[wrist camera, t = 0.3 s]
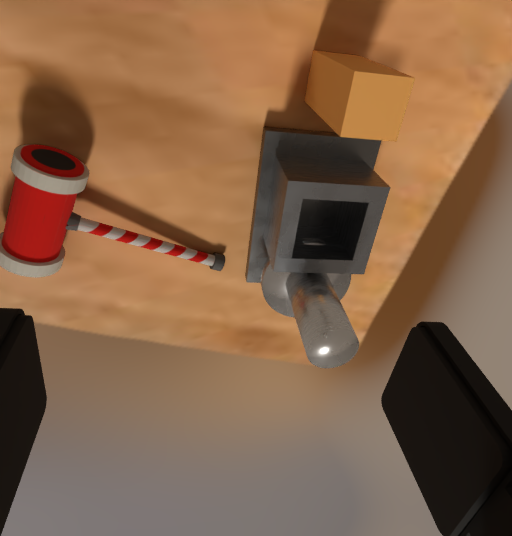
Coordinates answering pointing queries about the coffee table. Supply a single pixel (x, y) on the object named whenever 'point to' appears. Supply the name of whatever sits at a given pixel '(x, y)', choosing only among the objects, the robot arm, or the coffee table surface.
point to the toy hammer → (60, 215)
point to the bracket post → (314, 231)
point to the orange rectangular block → (358, 95)
